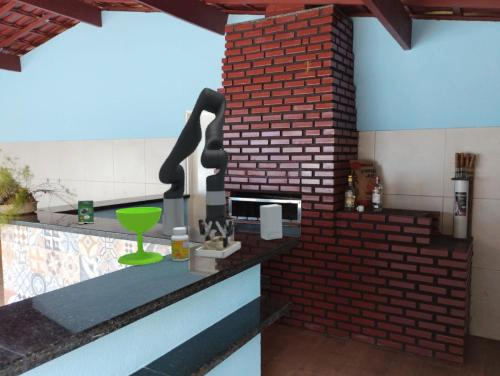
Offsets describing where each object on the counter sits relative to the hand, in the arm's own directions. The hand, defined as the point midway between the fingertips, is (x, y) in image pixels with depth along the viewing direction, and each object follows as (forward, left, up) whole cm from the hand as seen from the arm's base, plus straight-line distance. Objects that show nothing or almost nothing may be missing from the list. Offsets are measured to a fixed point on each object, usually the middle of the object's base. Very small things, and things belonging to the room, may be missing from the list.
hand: (216, 246), depth 160 cm
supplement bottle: (-9, -12, -3) cm, 15 cm away
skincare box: (+12, +33, -3) cm, 35 cm away
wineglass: (-23, -16, -3) cm, 28 cm away
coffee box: (-99, +45, -3) cm, 109 cm away
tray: (0, +2, -3) cm, 3 cm away
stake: (-1, +18, -3) cm, 18 cm away
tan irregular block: (0, +2, -1) cm, 2 cm away
